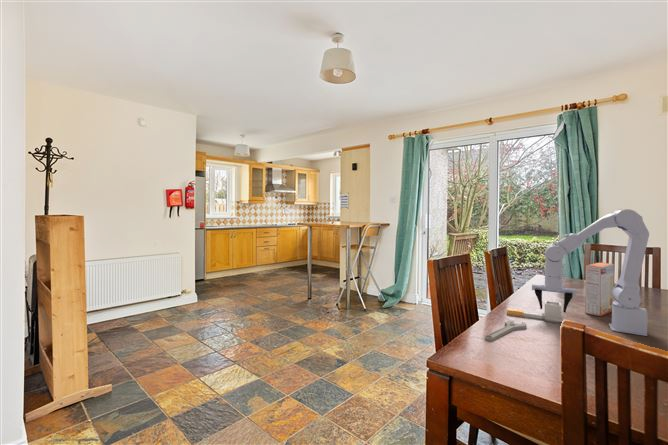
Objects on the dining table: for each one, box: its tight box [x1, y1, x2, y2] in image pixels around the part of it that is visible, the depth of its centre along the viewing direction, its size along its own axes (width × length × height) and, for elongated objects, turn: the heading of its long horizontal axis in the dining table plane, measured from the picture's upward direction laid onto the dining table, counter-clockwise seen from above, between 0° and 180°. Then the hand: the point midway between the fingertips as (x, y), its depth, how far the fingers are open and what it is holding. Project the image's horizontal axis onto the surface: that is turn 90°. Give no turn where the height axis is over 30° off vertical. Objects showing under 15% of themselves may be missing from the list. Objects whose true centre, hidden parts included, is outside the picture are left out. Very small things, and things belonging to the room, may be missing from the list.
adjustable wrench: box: [484, 320, 528, 342], centre depth 118 cm, size 25×6×2 cm, turn 123°
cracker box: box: [584, 262, 615, 317], centre depth 141 cm, size 14×6×21 cm, turn 123°
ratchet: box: [506, 308, 564, 325], centre depth 133 cm, size 20×7×5 cm, turn 58°
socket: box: [543, 300, 562, 319], centre depth 130 cm, size 5×5×5 cm
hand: (552, 310), depth 130 cm, fingers open, 7 cm apart
